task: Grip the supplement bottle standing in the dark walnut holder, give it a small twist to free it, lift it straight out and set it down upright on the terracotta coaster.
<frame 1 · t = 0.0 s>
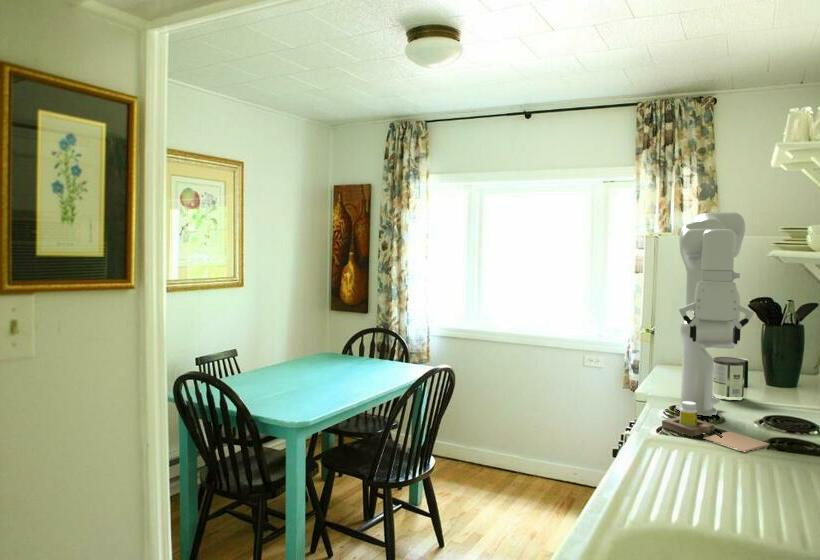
hand: (714, 342, 157), 31 cm above the counter, tool pointing down, fingers open, 9 cm apart
coffee can: (727, 398, 218), on the counter
supplement bottle: (687, 430, 182), resting in walnut cup holder
terracotta coaster: (735, 442, 171), on the counter
walnut cup holder: (687, 429, 182), on the counter
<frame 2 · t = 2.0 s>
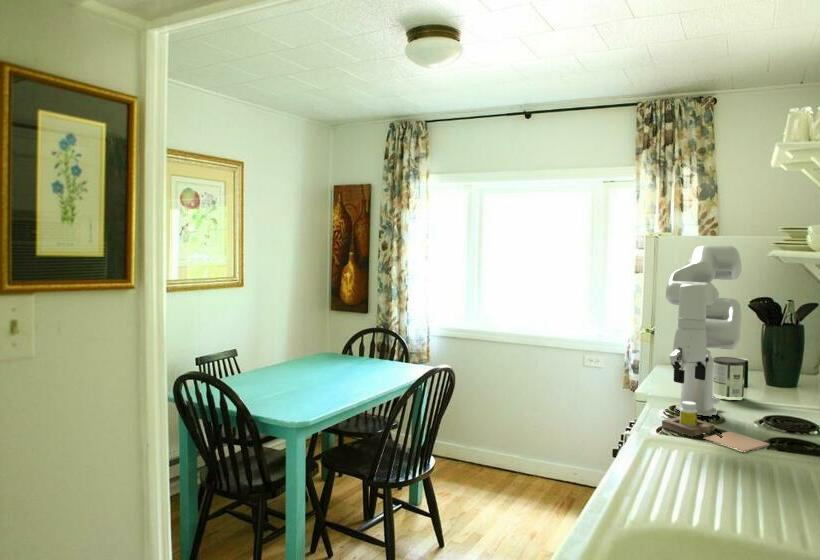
hand: (689, 380, 181), 15 cm above the counter, tool pointing down, fingers open, 9 cm apart
nothing on the counter moved.
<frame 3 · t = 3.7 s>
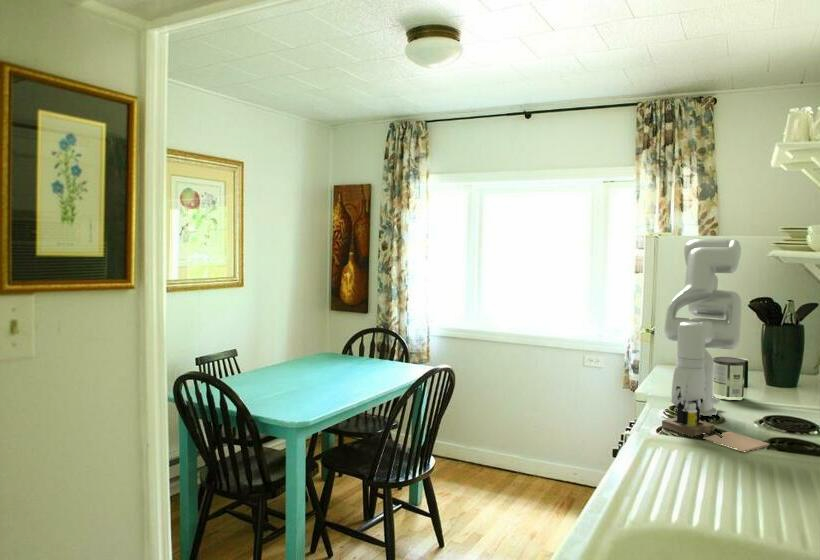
hand: (688, 421, 182), 3 cm above the counter, tool pointing down, fingers closed on supplement bottle, 4 cm apart
supplement bottle: (687, 430, 182), resting in walnut cup holder, touching gripper
everything else where it was.
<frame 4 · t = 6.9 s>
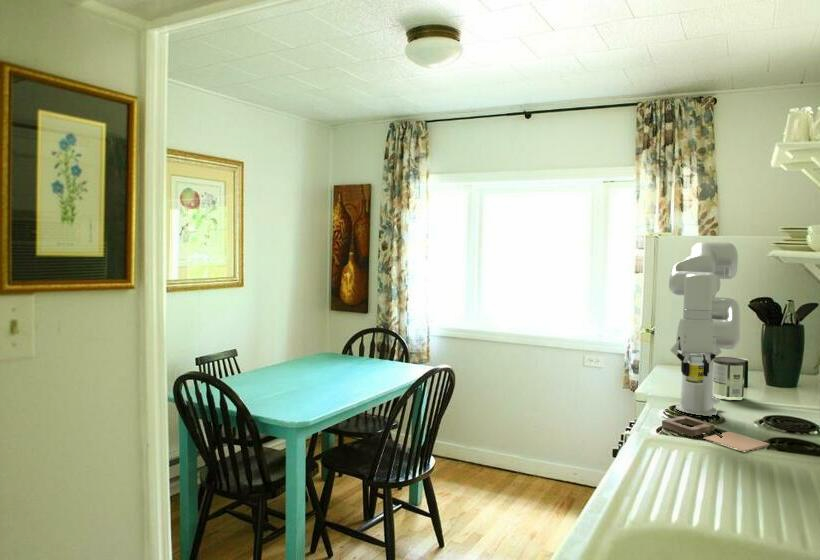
hand: (694, 374, 180), 17 cm above the counter, tool pointing down, fingers closed on supplement bottle, 4 cm apart
supplement bottle: (694, 384, 180), point 15 cm above the counter, touching gripper
everything else where it was.
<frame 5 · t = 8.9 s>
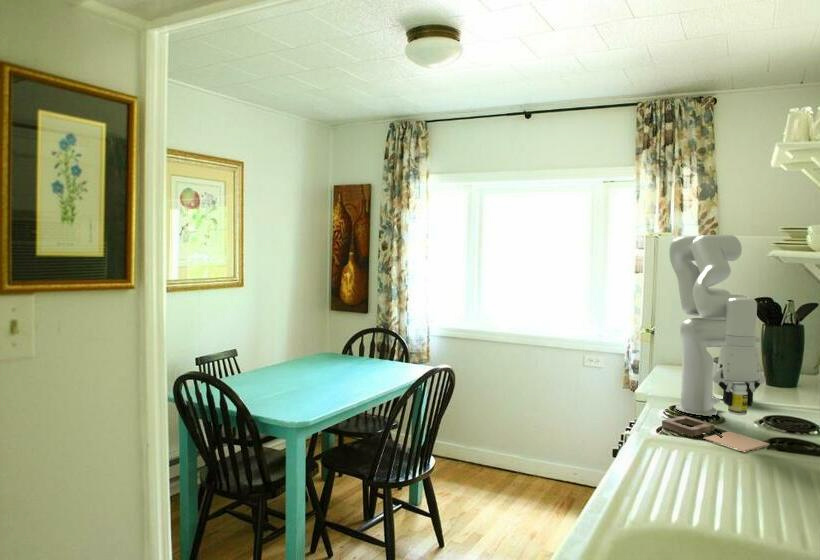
hand: (737, 404, 170), 11 cm above the counter, tool pointing down, fingers closed on supplement bottle, 4 cm apart
supplement bottle: (737, 413, 170), point 8 cm above the counter, touching gripper
everything else where it was.
when the fingers open (4 cm above the counter, at t = 10.4 s): supplement bottle drops 1 cm, resting on terracotta coaster.
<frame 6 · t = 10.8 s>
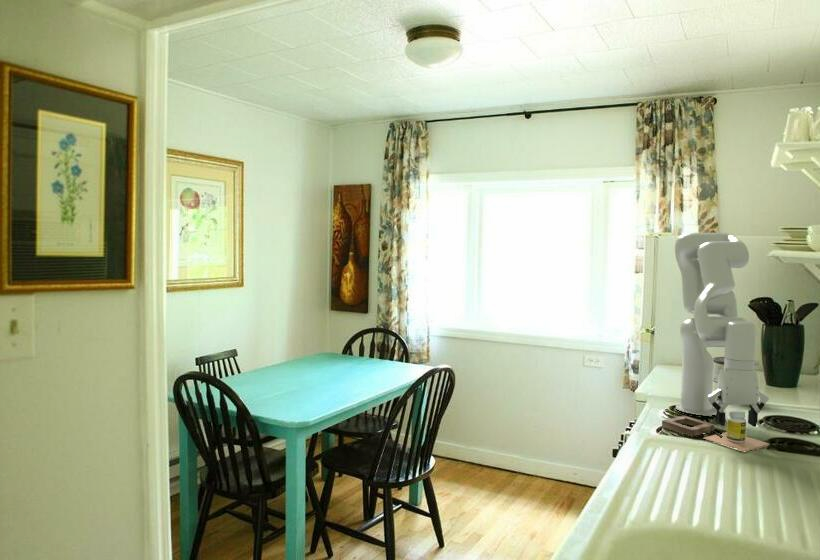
hand: (736, 424, 170), 5 cm above the counter, tool pointing down, fingers open, 8 cm apart
supplement bottle: (735, 441, 171), resting on terracotta coaster
everything else where it was.
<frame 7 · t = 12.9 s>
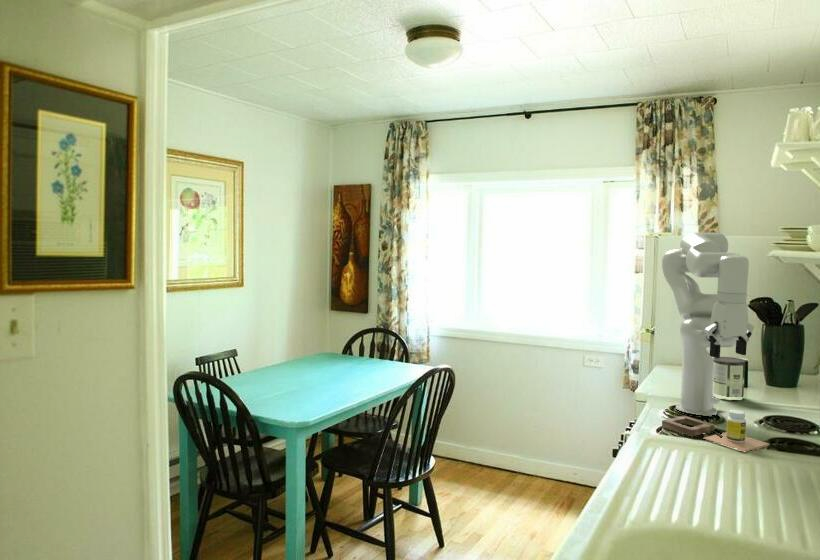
hand: (727, 355, 176), 24 cm above the counter, tool pointing down, fingers open, 9 cm apart
nothing on the counter moved.
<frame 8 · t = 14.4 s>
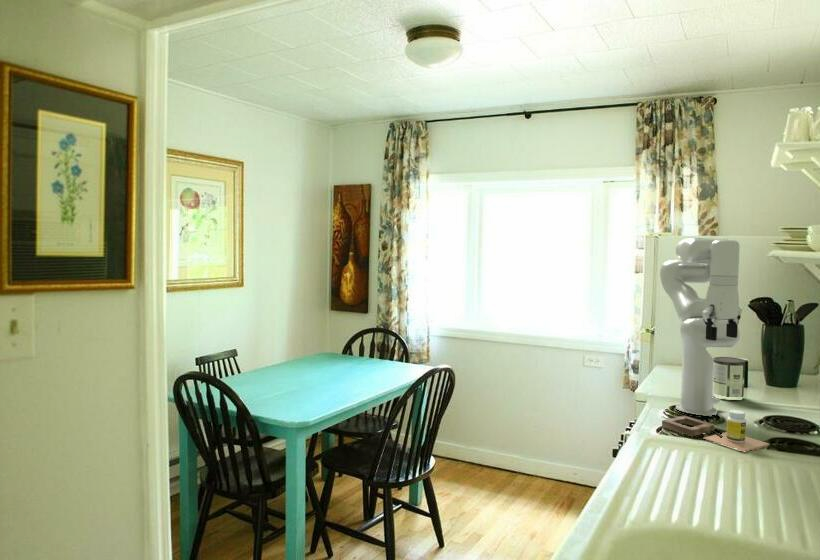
hand: (721, 338, 179), 28 cm above the counter, tool pointing down, fingers open, 9 cm apart
nothing on the counter moved.
at the end: supplement bottle inside the target area on the terracotta coaster (0.1 cm from its centre), point 0.4 cm above the terracotta coaster's base; supplement bottle tilted 0°; the gripper is holding nothing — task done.
